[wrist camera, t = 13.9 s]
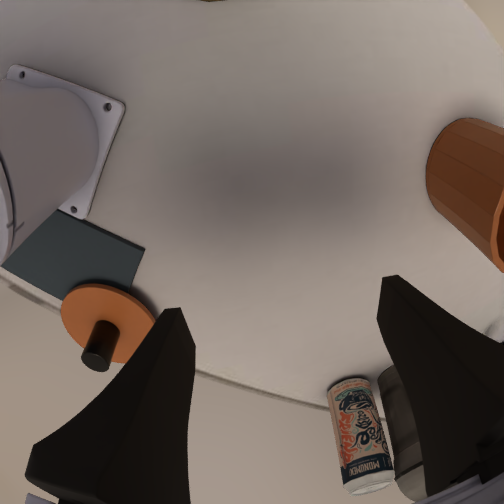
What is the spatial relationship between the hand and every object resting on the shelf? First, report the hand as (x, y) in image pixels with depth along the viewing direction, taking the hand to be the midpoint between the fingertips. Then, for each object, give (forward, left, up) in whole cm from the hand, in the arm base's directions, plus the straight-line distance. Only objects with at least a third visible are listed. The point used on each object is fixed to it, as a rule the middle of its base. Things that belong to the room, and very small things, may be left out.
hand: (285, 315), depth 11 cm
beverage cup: (+22, -9, -10) cm, 26 cm away
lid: (-6, -14, -8) cm, 17 cm away
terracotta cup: (+11, +10, -9) cm, 18 cm away
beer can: (+18, -13, -10) cm, 24 cm away
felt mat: (-13, -10, -9) cm, 19 cm away
